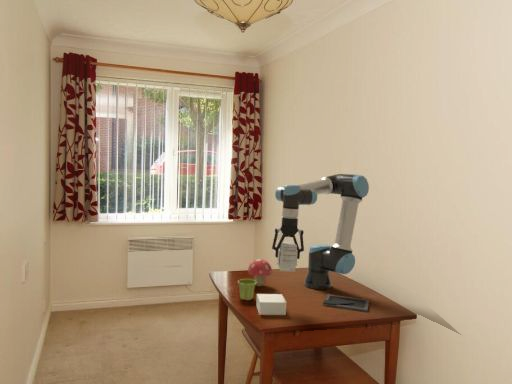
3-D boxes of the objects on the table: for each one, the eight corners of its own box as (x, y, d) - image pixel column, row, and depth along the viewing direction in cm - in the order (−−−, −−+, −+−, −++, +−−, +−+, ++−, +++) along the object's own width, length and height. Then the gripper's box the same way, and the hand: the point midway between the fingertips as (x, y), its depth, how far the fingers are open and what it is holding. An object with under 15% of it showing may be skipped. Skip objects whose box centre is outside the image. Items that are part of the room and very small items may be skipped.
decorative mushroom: (247, 282, 240) (248, 256, 239) (271, 283, 239) (272, 257, 238) (246, 289, 227) (247, 261, 226) (271, 290, 226) (272, 263, 225)
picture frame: (322, 306, 206) (367, 313, 200) (323, 302, 206) (367, 309, 200) (327, 297, 222) (368, 303, 215) (327, 293, 221) (369, 299, 215)
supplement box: (277, 267, 205) (279, 241, 205) (292, 267, 206) (294, 242, 205) (279, 271, 198) (281, 244, 197) (295, 271, 199) (297, 245, 198)
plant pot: (241, 302, 205) (242, 284, 204) (233, 296, 213) (234, 279, 213) (258, 300, 209) (259, 283, 209) (250, 294, 218) (251, 278, 217)
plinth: (281, 306, 203) (281, 294, 202) (285, 315, 191) (286, 302, 190) (256, 306, 201) (256, 293, 201) (259, 315, 189) (260, 302, 189)
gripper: (268, 216, 197) (265, 265, 198) (312, 219, 197) (309, 268, 198) (268, 215, 205) (265, 261, 206) (311, 217, 204) (307, 264, 205)
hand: (286, 264), depth 202 cm, fingers closed on supplement box, 8 cm apart
